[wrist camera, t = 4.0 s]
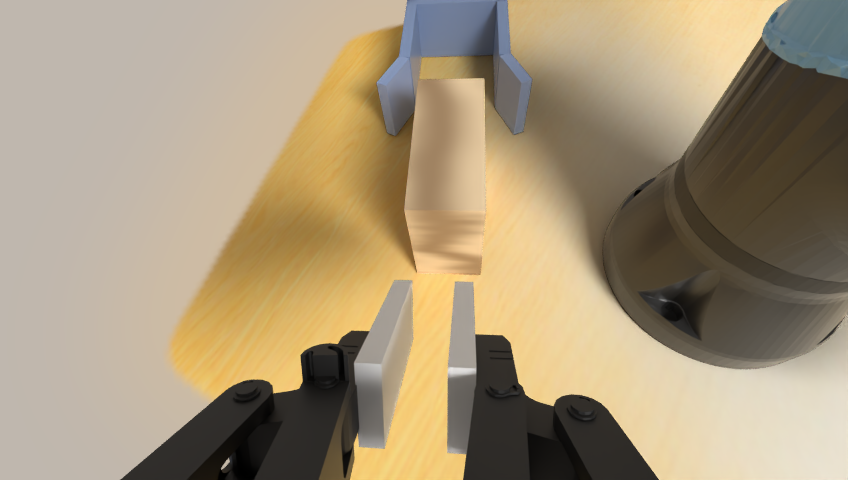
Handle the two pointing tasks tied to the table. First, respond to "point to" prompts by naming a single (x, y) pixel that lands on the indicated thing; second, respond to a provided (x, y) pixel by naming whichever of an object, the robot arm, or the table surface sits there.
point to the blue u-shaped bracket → (454, 36)
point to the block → (447, 177)
